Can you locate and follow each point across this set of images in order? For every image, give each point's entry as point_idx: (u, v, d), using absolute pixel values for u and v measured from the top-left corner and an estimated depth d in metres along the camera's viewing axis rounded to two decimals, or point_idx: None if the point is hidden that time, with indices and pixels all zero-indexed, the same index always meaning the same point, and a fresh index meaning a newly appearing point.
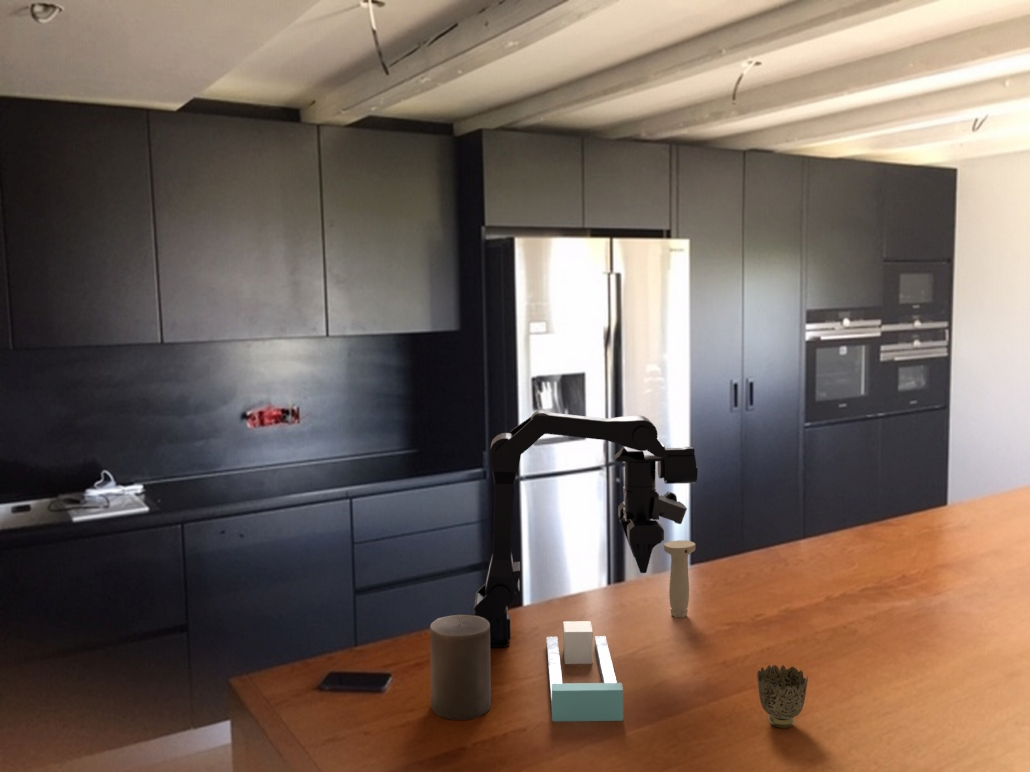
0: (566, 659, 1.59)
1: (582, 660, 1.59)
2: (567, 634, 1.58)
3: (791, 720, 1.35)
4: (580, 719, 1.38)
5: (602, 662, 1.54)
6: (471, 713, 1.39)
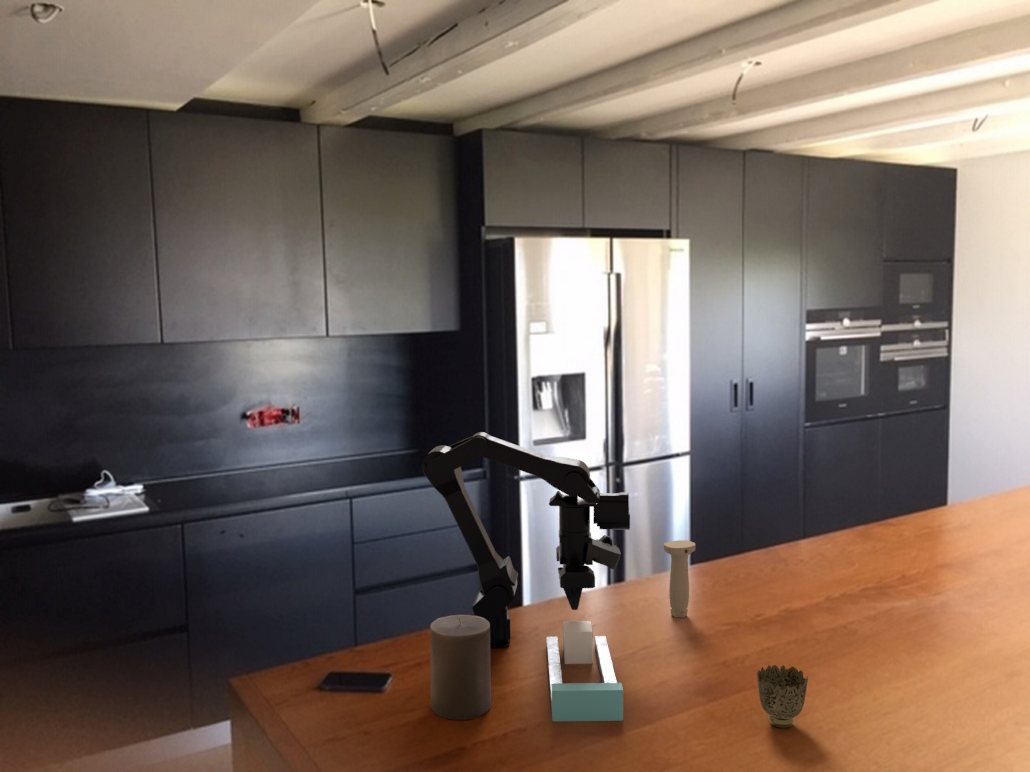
0: (566, 659, 1.59)
1: (582, 660, 1.59)
2: (567, 634, 1.58)
3: (791, 720, 1.35)
4: (580, 719, 1.38)
5: (602, 662, 1.54)
6: (471, 713, 1.39)
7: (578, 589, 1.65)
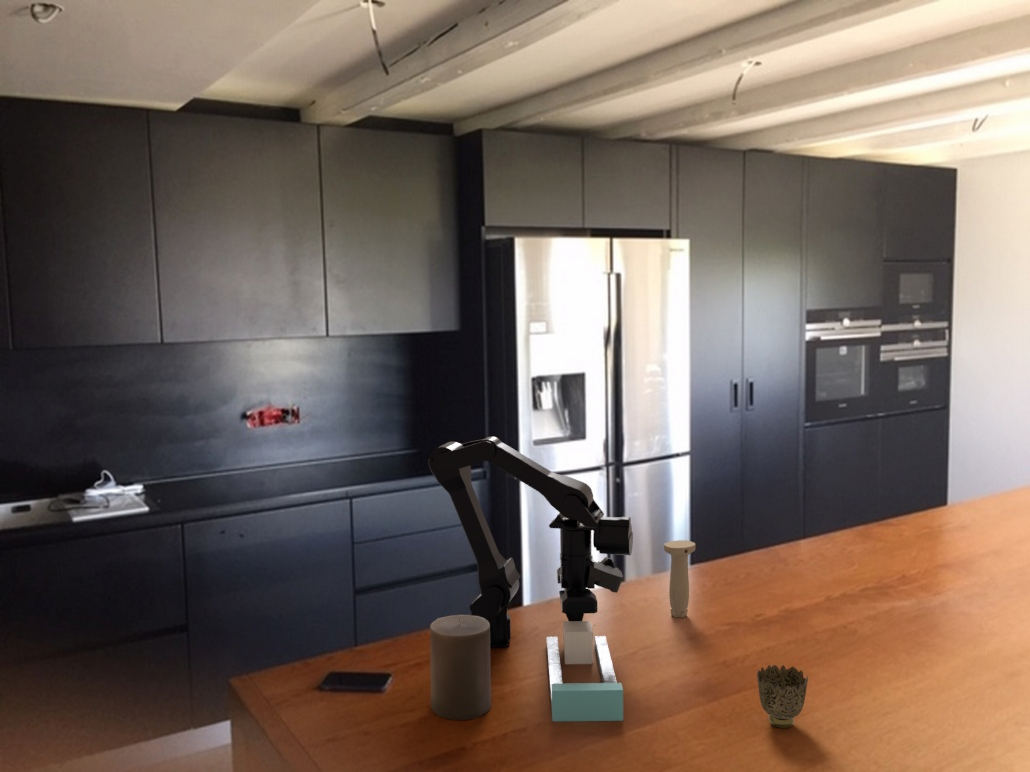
0: (566, 659, 1.59)
1: (583, 660, 1.59)
2: (567, 634, 1.58)
3: (791, 720, 1.35)
4: (580, 719, 1.38)
5: (602, 662, 1.54)
6: (471, 713, 1.39)
7: None
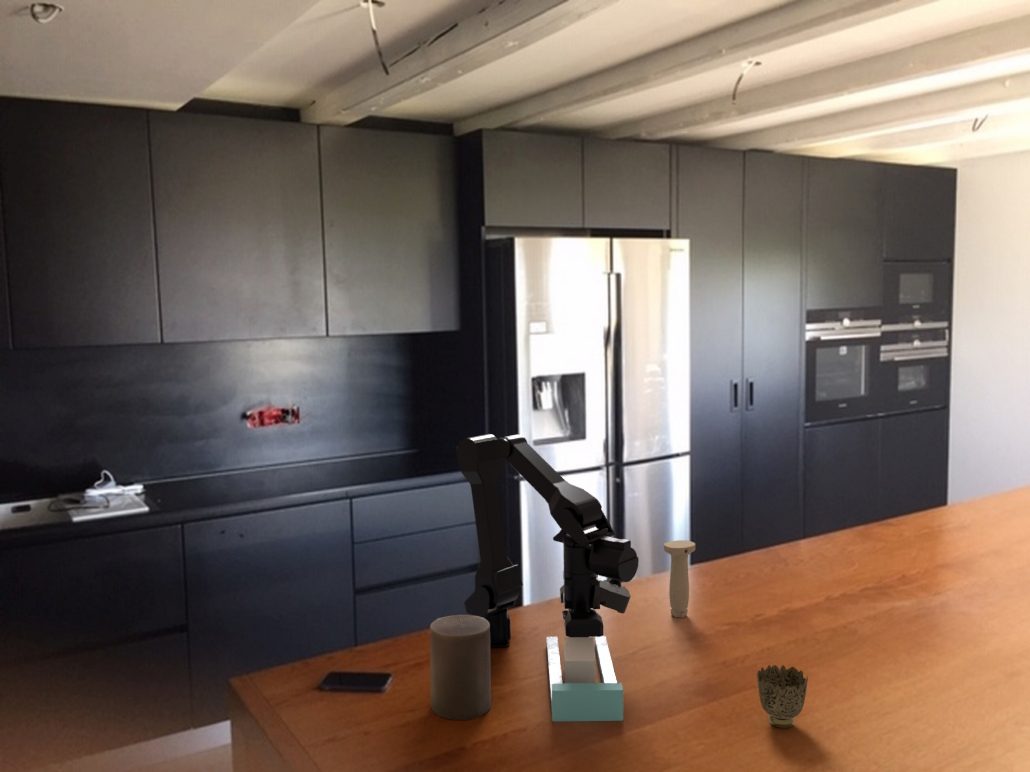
0: (566, 681, 1.50)
1: (584, 681, 1.50)
2: (568, 662, 1.48)
3: (791, 720, 1.35)
4: (580, 719, 1.38)
5: (602, 662, 1.54)
6: (471, 713, 1.39)
7: None
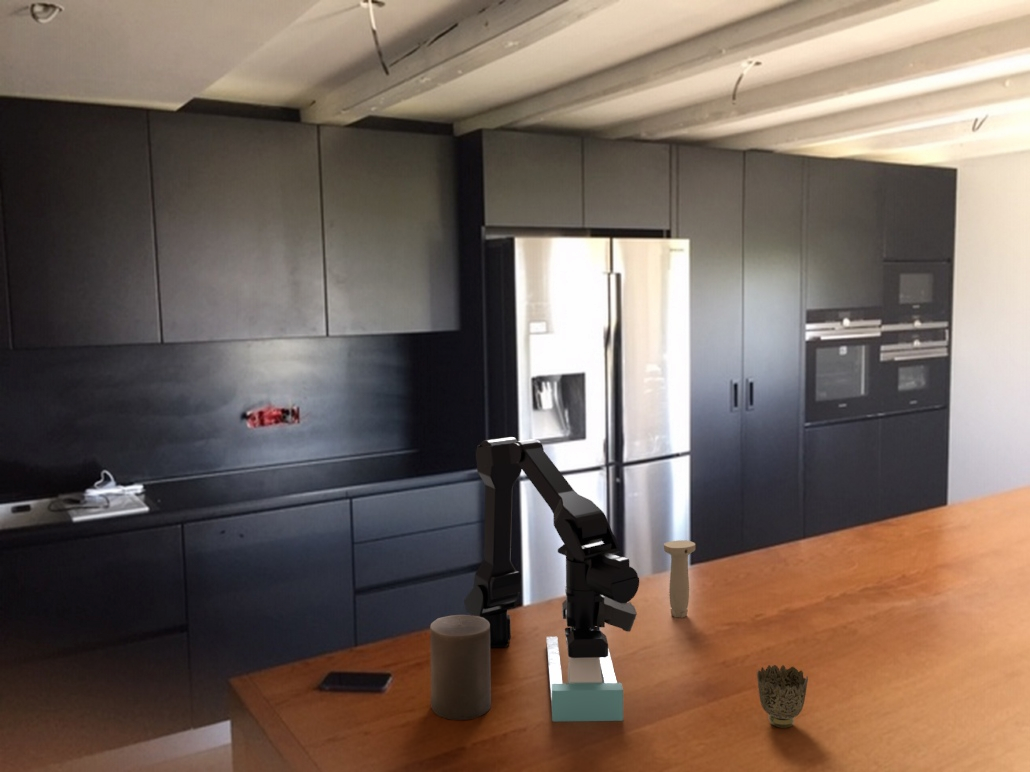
0: None
1: None
2: None
3: (791, 720, 1.35)
4: (580, 719, 1.38)
5: (602, 662, 1.54)
6: (471, 713, 1.39)
7: None
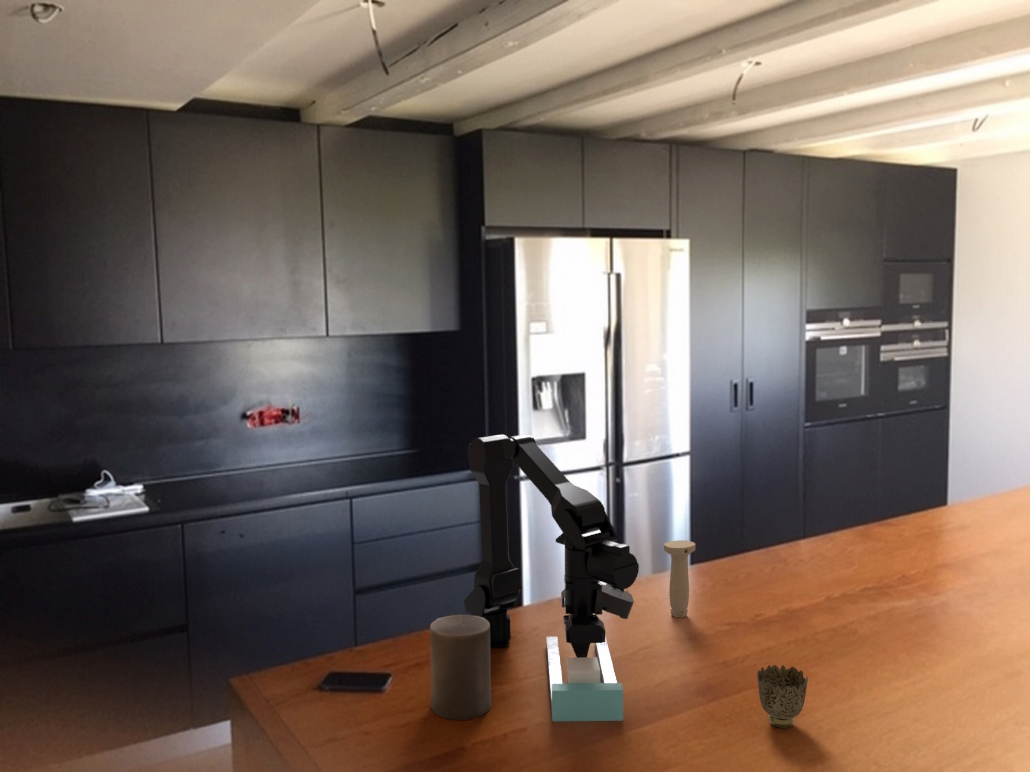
0: None
1: None
2: (572, 673, 1.42)
3: (791, 720, 1.35)
4: (580, 719, 1.38)
5: (602, 662, 1.54)
6: (471, 713, 1.39)
7: None
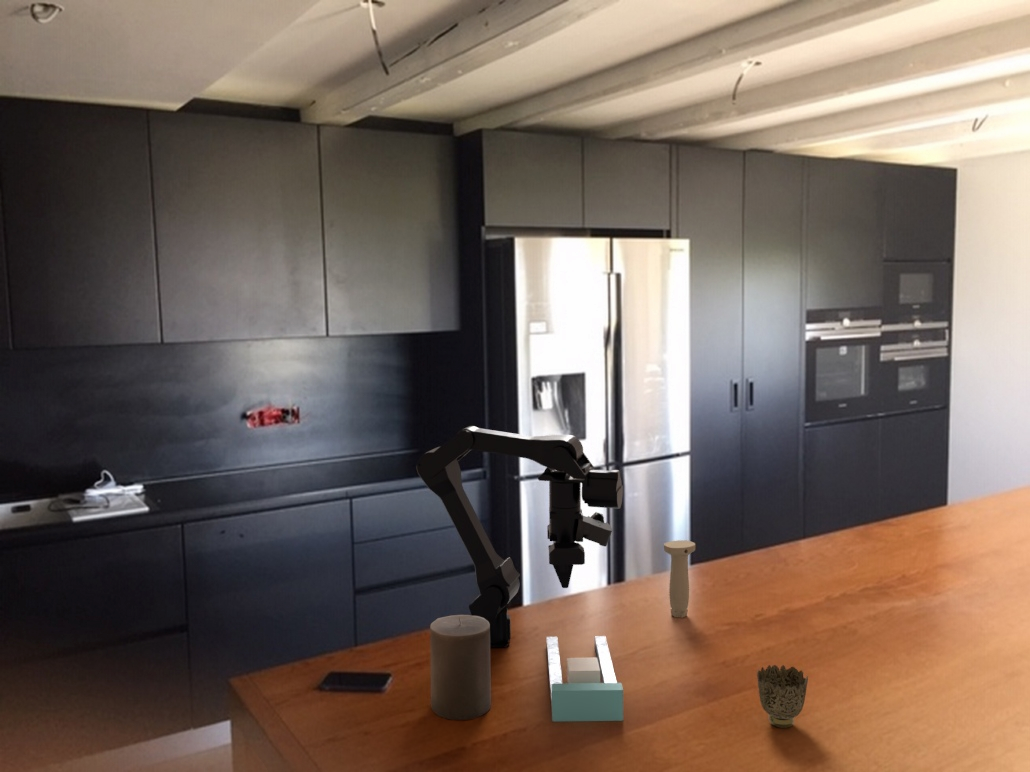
0: None
1: None
2: (572, 673, 1.42)
3: (791, 720, 1.35)
4: (580, 719, 1.38)
5: (602, 662, 1.54)
6: (471, 713, 1.39)
7: (568, 567, 1.62)
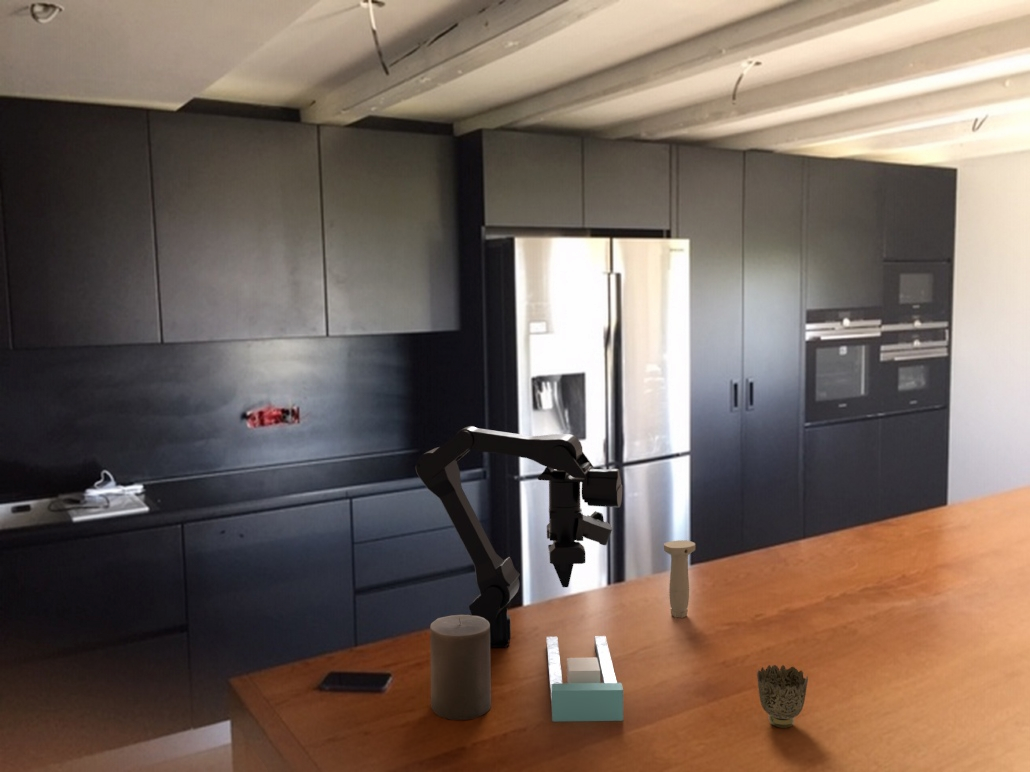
0: None
1: None
2: (572, 673, 1.42)
3: (791, 720, 1.35)
4: (580, 719, 1.38)
5: (602, 662, 1.54)
6: (471, 713, 1.39)
7: (569, 566, 1.62)
